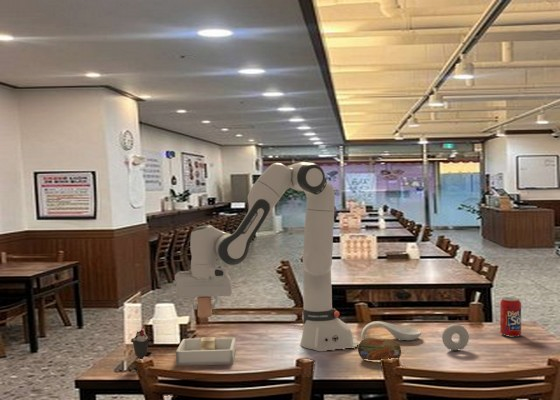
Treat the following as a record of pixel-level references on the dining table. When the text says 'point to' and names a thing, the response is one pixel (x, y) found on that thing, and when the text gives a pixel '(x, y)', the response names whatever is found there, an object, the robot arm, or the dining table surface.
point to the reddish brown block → (204, 307)
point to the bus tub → (206, 352)
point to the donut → (452, 330)
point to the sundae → (140, 344)
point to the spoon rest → (395, 330)
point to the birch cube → (208, 343)
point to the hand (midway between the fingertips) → (204, 308)
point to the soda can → (510, 316)
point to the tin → (379, 349)
